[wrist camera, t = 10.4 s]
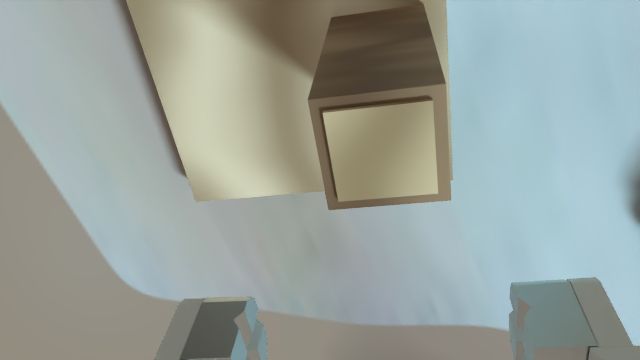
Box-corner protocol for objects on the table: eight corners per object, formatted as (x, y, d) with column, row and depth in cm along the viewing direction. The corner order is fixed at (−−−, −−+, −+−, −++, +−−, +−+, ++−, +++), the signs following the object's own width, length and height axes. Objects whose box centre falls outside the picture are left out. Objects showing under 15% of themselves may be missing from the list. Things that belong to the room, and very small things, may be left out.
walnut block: (423, 4, 22) (446, 85, 15) (428, 91, 24) (451, 202, 17) (331, 17, 23) (307, 101, 15) (344, 100, 25) (328, 212, 17)
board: (437, -135, 21) (441, -135, 20) (449, 165, 28) (452, 180, 27) (116, -76, 23) (100, -72, 22) (203, 187, 30) (195, 201, 29)
